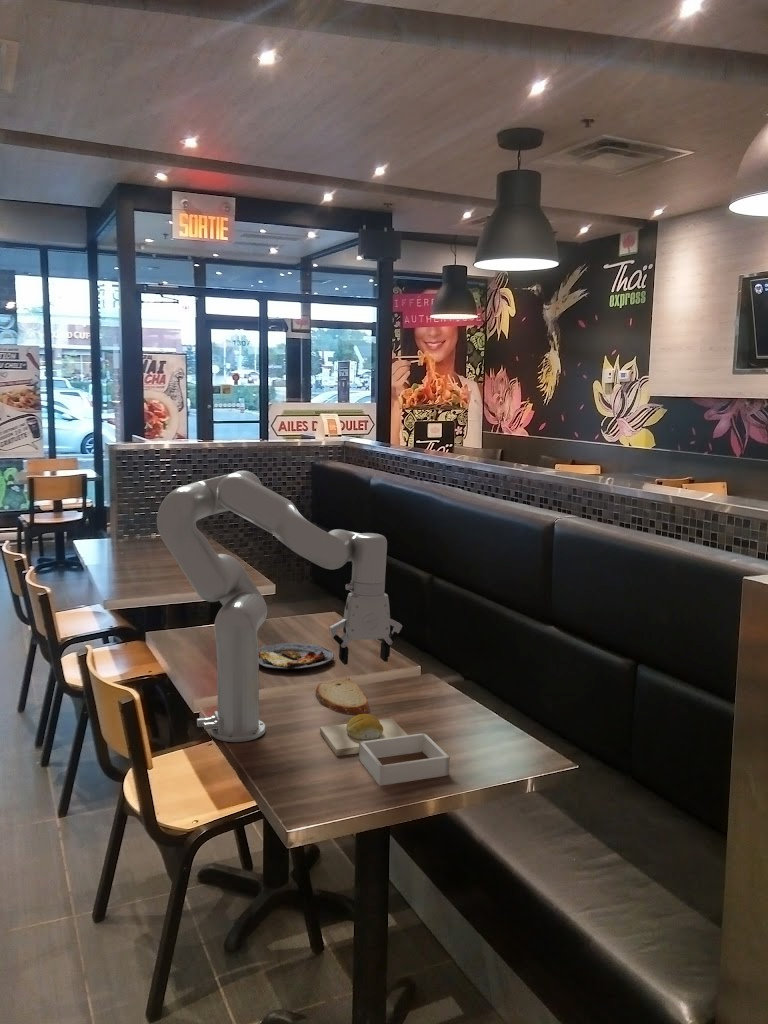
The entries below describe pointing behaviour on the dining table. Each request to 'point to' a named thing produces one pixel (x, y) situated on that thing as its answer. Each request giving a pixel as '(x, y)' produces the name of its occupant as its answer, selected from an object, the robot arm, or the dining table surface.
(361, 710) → the slice of bread
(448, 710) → the dining table surface
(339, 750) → the birch board
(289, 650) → the food plate
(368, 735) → the bread roll
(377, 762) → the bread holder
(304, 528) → the robot arm
